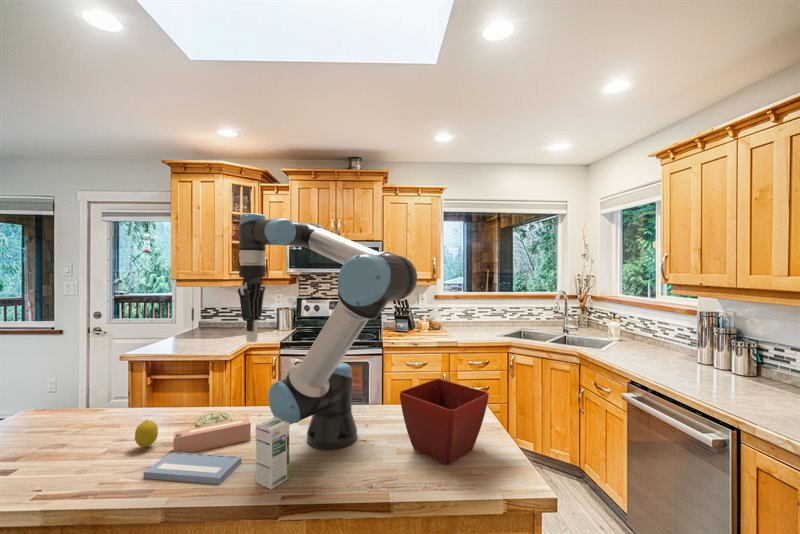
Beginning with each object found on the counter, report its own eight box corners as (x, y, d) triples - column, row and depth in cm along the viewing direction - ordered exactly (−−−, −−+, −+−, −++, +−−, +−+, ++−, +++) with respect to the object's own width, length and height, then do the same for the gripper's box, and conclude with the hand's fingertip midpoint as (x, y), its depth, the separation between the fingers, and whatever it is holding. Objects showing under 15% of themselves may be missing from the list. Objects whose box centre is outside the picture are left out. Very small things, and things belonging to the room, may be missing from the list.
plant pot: (489, 449, 110) (490, 392, 110) (451, 476, 96) (452, 410, 96) (437, 429, 123) (437, 377, 123) (396, 450, 109) (397, 392, 109)
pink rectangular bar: (248, 433, 118) (248, 416, 118) (250, 439, 114) (250, 422, 114) (173, 449, 108) (173, 430, 108) (173, 456, 104) (173, 437, 104)
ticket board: (241, 462, 101) (241, 456, 101) (219, 484, 91) (219, 477, 91) (172, 457, 103) (172, 451, 103) (143, 478, 93) (143, 471, 93)
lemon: (146, 453, 105) (146, 425, 105) (129, 451, 106) (129, 423, 106) (162, 444, 111) (162, 417, 111) (146, 442, 112) (146, 415, 112)
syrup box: (271, 490, 89) (271, 429, 89) (254, 482, 92) (255, 423, 92) (289, 478, 94) (290, 420, 94) (274, 471, 97) (274, 415, 97)
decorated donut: (234, 430, 121) (234, 418, 121) (197, 438, 115) (197, 426, 115) (228, 418, 130) (228, 407, 130) (193, 426, 123) (193, 414, 123)
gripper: (251, 264, 123) (250, 336, 123) (229, 264, 110) (228, 345, 110) (273, 264, 122) (272, 337, 122) (253, 264, 109) (253, 346, 109)
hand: (251, 341), depth 116 cm, fingers closed
